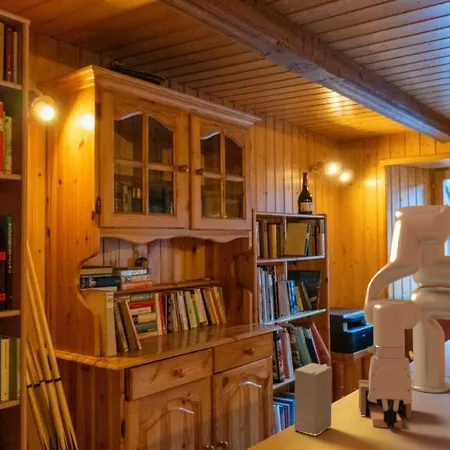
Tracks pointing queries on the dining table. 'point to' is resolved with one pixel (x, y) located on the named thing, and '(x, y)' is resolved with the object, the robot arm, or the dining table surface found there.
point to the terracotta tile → (381, 416)
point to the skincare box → (313, 398)
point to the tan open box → (365, 402)
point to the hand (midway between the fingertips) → (390, 425)
